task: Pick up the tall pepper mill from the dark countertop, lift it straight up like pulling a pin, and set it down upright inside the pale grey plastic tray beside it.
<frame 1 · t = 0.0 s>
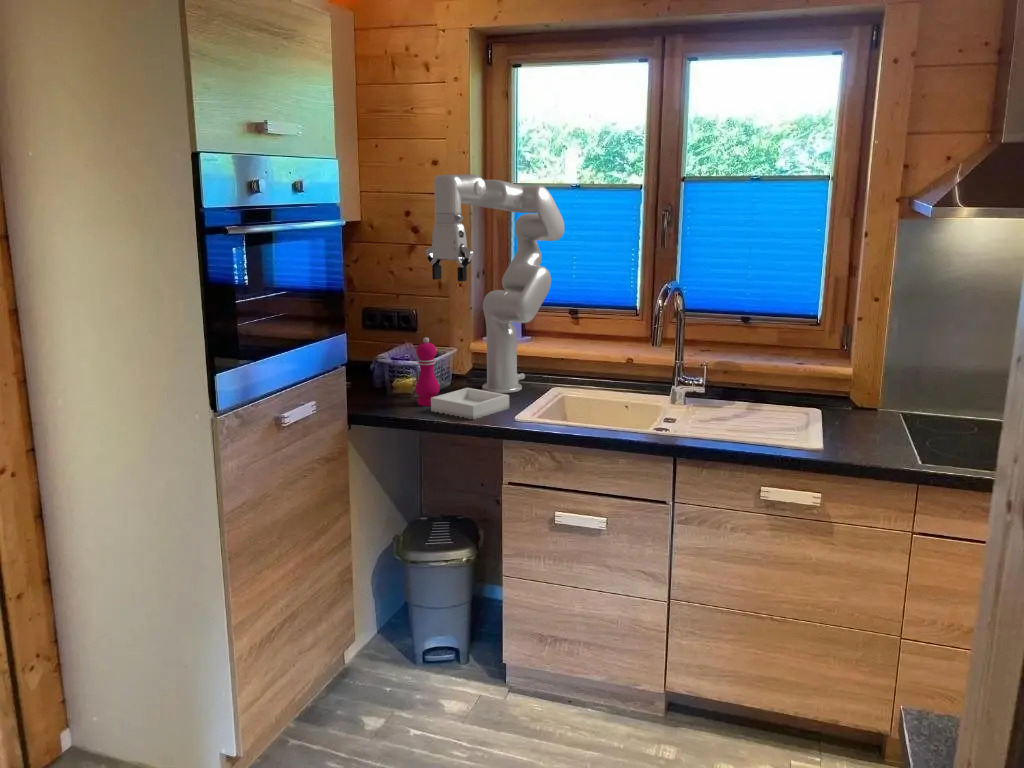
hand: (449, 280, 240), 37 cm above the counter, tool pointing down, fingers open, 9 cm apart
pepper mill: (427, 404, 249), on the counter
tray: (470, 409, 241), on the counter
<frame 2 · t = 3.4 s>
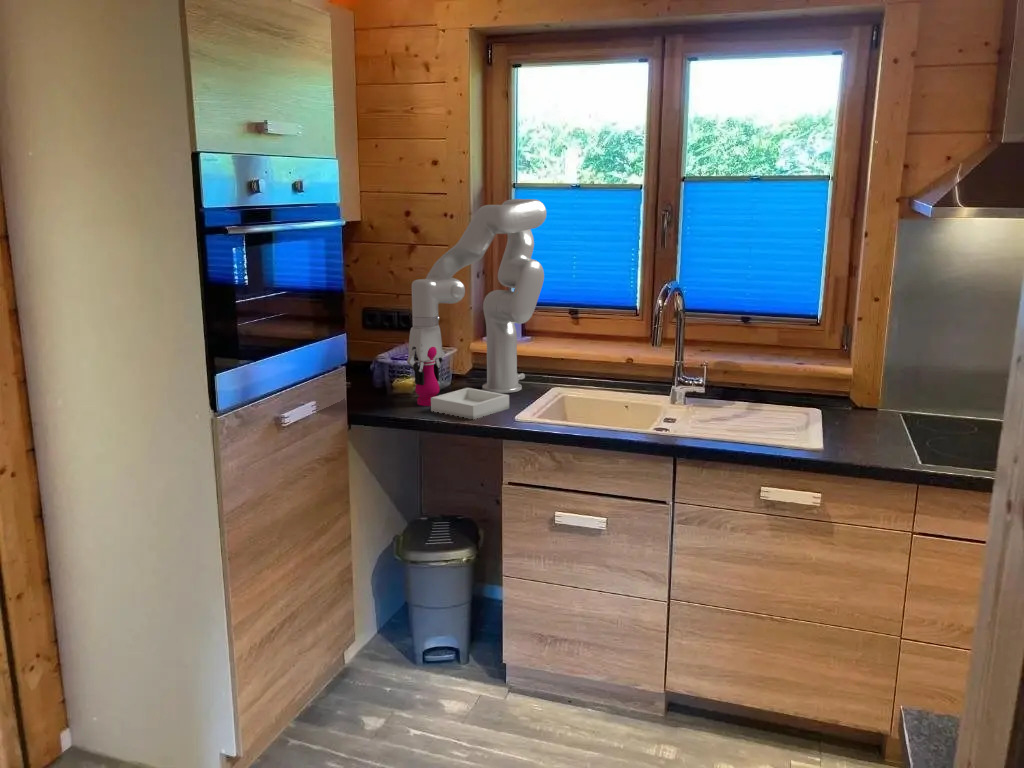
hand: (427, 381, 247), 7 cm above the counter, tool pointing down, fingers closed on pepper mill, 5 cm apart
pepper mill: (427, 404, 249), on the counter, touching gripper
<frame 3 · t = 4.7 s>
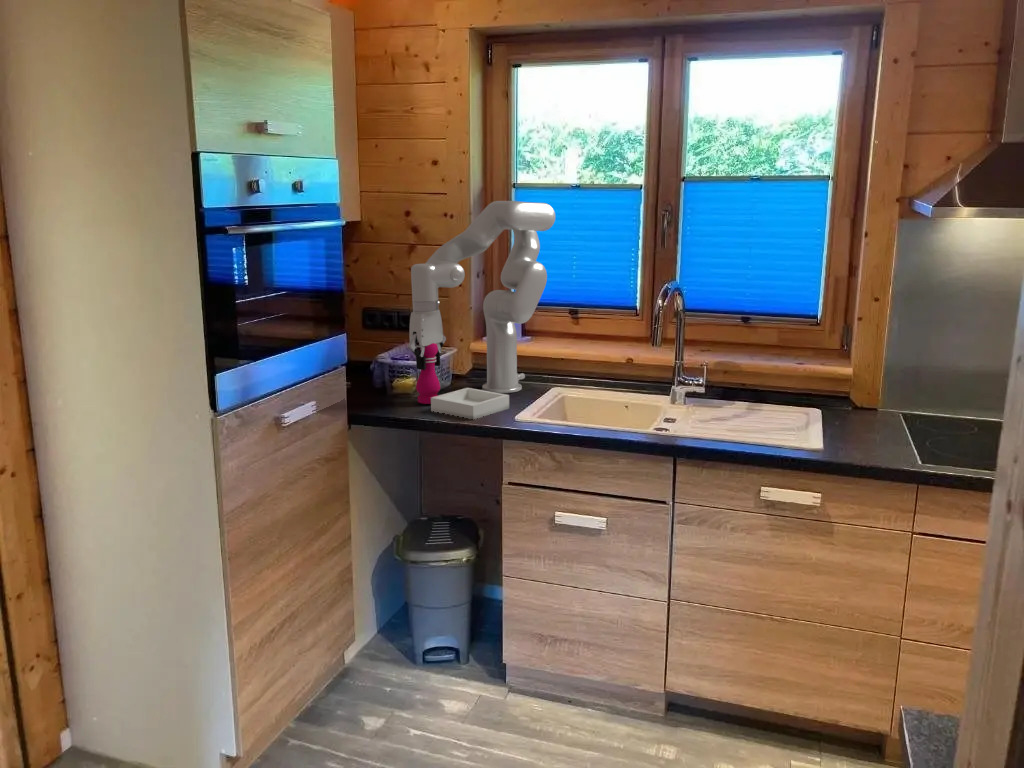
hand: (428, 366, 247), 11 cm above the counter, tool pointing down, fingers closed on pepper mill, 5 cm apart
pepper mill: (428, 402, 249), on the counter, touching gripper
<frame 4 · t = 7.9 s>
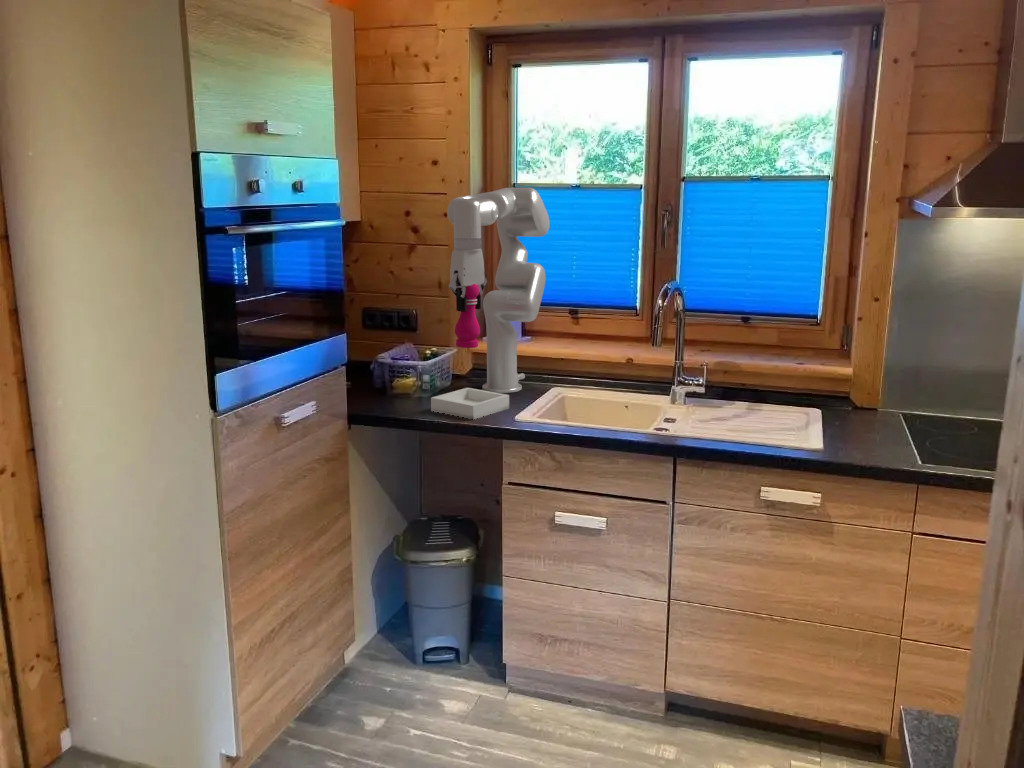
hand: (468, 309, 235), 29 cm above the counter, tool pointing down, fingers closed on pepper mill, 5 cm apart
pepper mill: (466, 347, 237), point 18 cm above the counter, touching gripper
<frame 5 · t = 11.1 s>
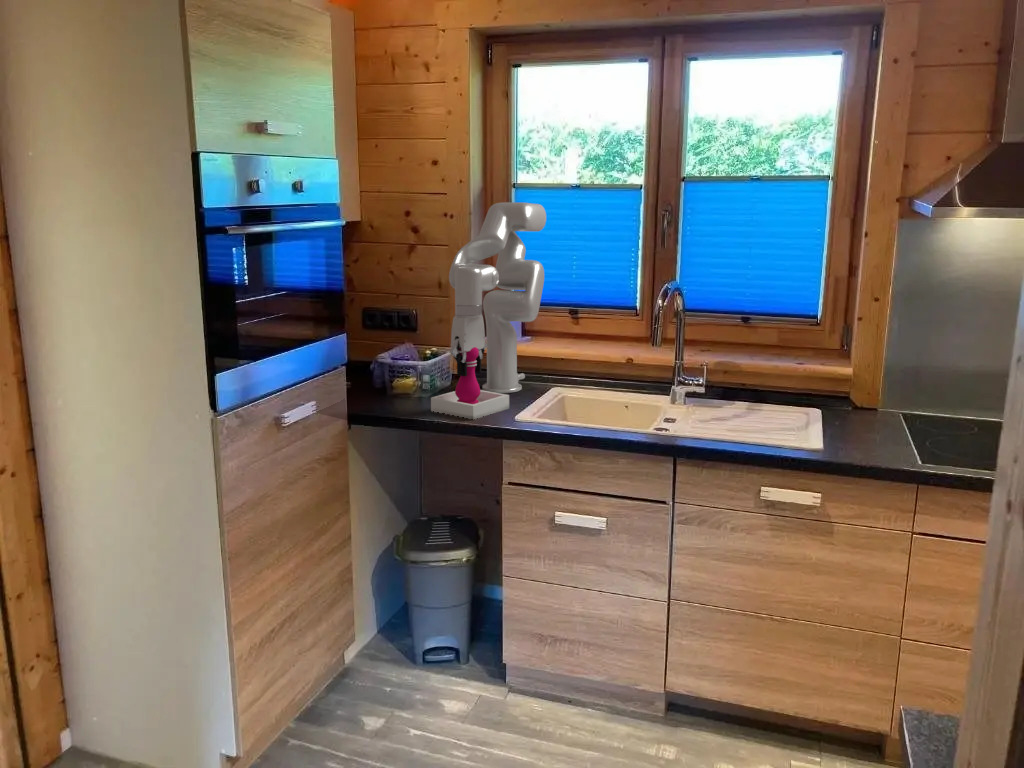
hand: (469, 373, 238), 11 cm above the counter, tool pointing down, fingers open, 5 cm apart
pepper mill: (467, 407, 240), point 1 cm above the counter, touching gripper, tray
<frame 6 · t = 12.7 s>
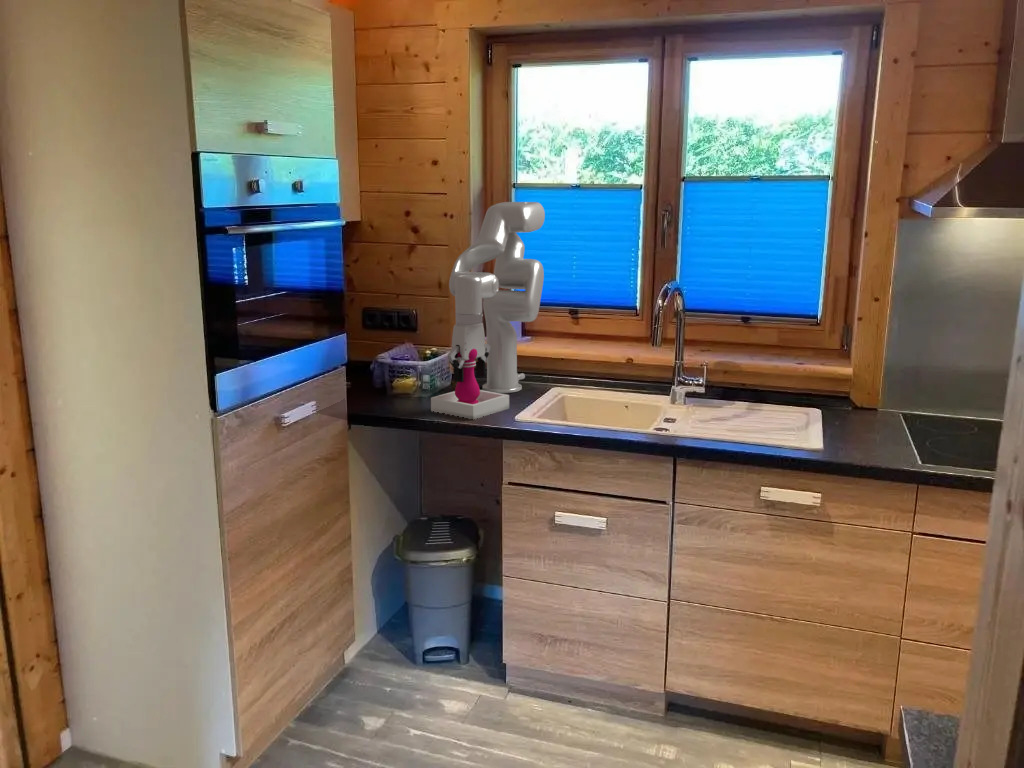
hand: (469, 378, 239), 9 cm above the counter, tool pointing down, fingers open, 9 cm apart
pepper mill: (467, 407, 240), point 1 cm above the counter, touching tray
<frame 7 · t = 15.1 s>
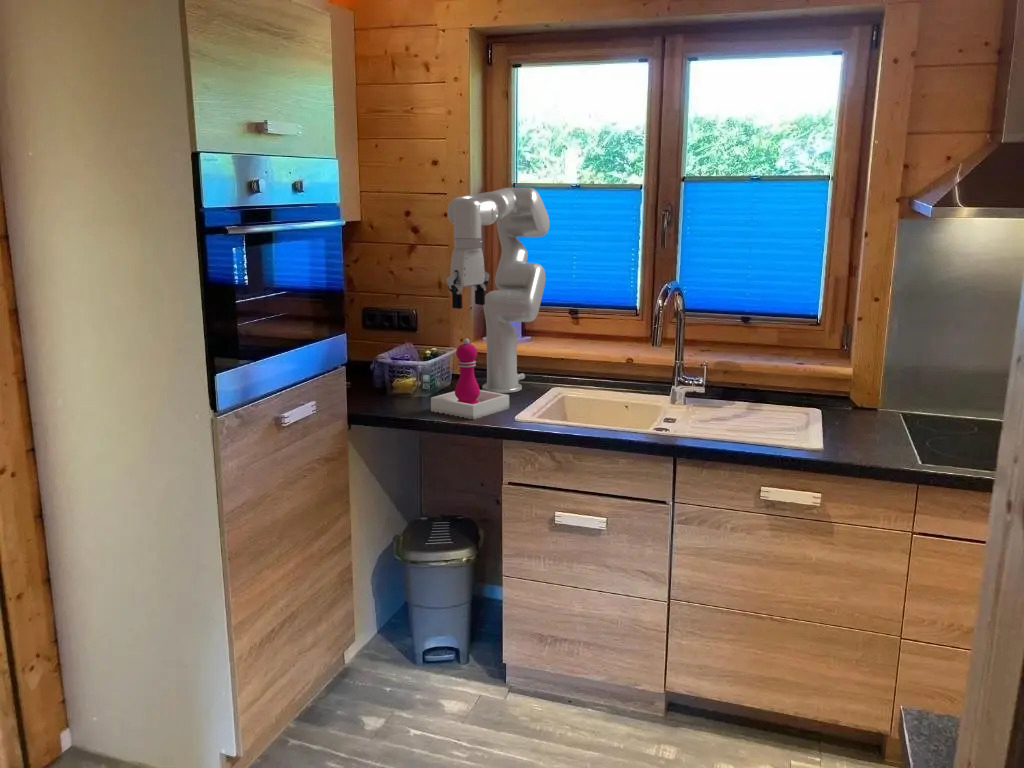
hand: (468, 306, 235), 30 cm above the counter, tool pointing down, fingers open, 9 cm apart
nothing on the counter moved.
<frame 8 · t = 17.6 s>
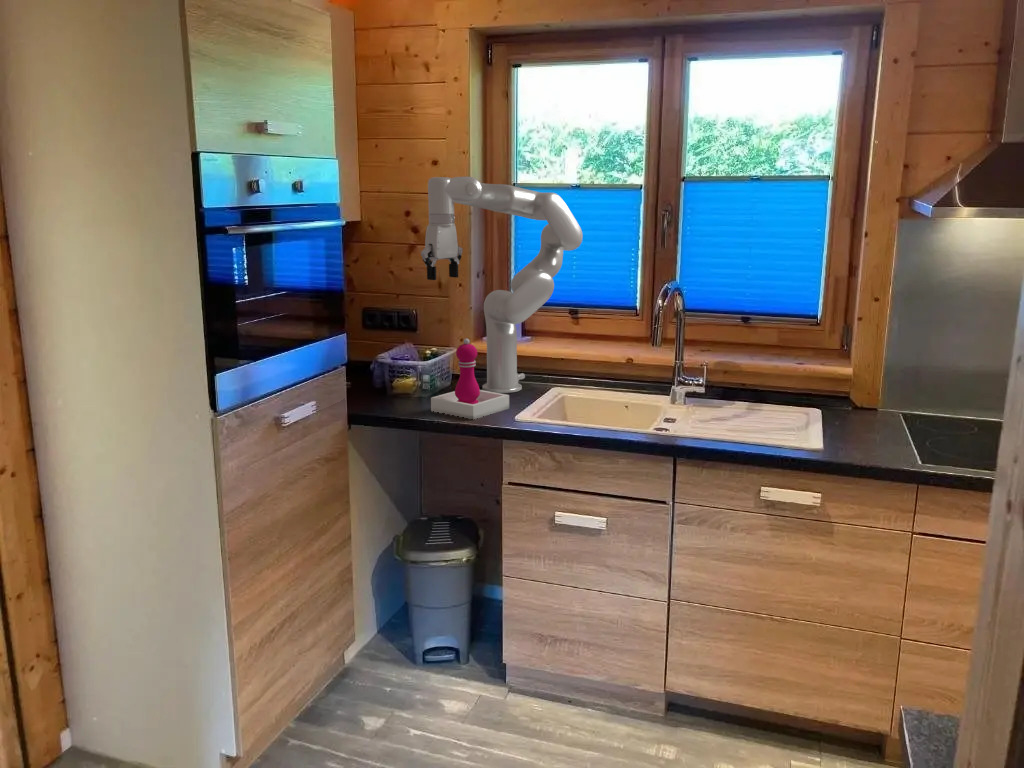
hand: (442, 278, 250), 36 cm above the counter, tool pointing down, fingers open, 9 cm apart
nothing on the counter moved.
at the end: pepper mill inside the target area on the tray (1.0 cm from its centre), point 0.8 cm above the tray's base; pepper mill tilted 0°; the gripper is holding nothing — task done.
